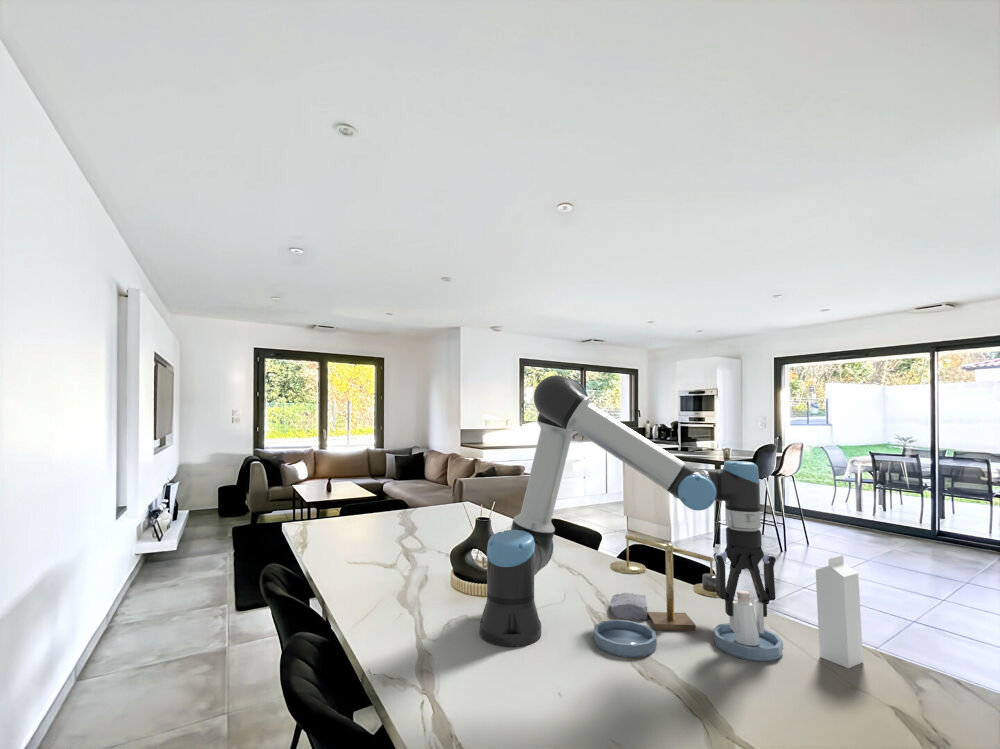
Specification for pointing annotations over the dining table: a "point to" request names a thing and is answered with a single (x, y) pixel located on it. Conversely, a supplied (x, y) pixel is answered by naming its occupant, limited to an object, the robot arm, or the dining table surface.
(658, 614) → the balance
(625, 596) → the stone block
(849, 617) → the milk
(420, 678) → the dining table surface
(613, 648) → the dish high side
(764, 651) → the dish low side
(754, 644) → the salt shaker
